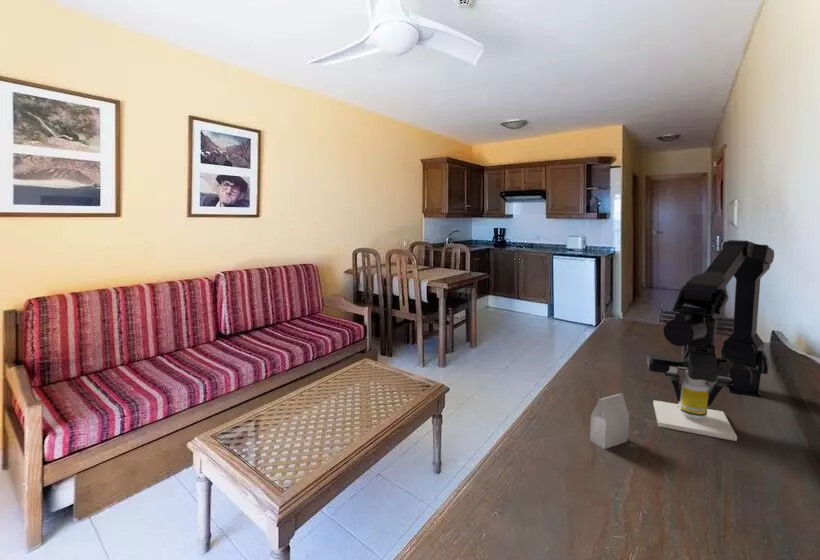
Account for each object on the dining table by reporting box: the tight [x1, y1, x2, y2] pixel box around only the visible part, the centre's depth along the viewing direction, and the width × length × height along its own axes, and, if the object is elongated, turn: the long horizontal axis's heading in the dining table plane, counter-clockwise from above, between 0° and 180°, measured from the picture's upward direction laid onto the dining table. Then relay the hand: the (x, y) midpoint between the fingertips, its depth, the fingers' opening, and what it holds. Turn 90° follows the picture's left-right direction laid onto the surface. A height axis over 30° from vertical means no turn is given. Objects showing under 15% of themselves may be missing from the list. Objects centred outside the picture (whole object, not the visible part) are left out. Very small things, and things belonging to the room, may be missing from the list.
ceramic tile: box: [652, 400, 738, 442], centre depth 90 cm, size 14×12×1 cm
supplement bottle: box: [677, 370, 709, 418], centre depth 90 cm, size 5×5×10 cm
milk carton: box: [589, 392, 630, 450], centre depth 83 cm, size 4×7×10 cm, turn 114°
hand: (693, 402), depth 90 cm, fingers closed on supplement bottle, 5 cm apart
